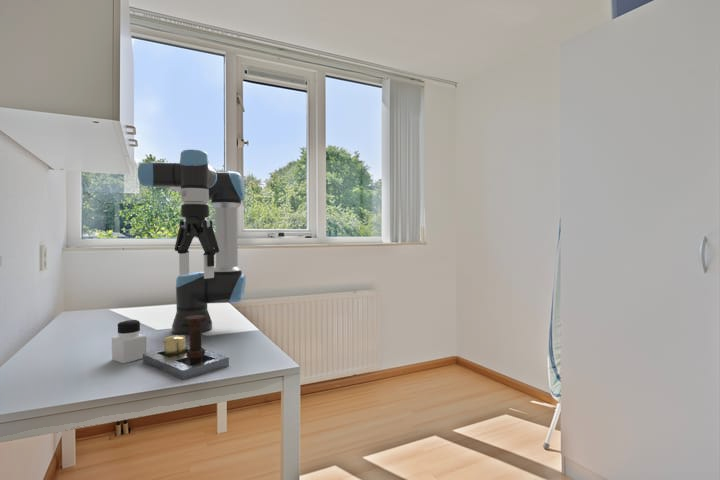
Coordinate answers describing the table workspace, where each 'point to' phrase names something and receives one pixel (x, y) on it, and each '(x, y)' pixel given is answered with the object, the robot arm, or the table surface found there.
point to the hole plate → (183, 359)
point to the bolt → (195, 338)
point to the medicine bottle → (128, 342)
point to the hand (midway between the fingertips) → (196, 276)
